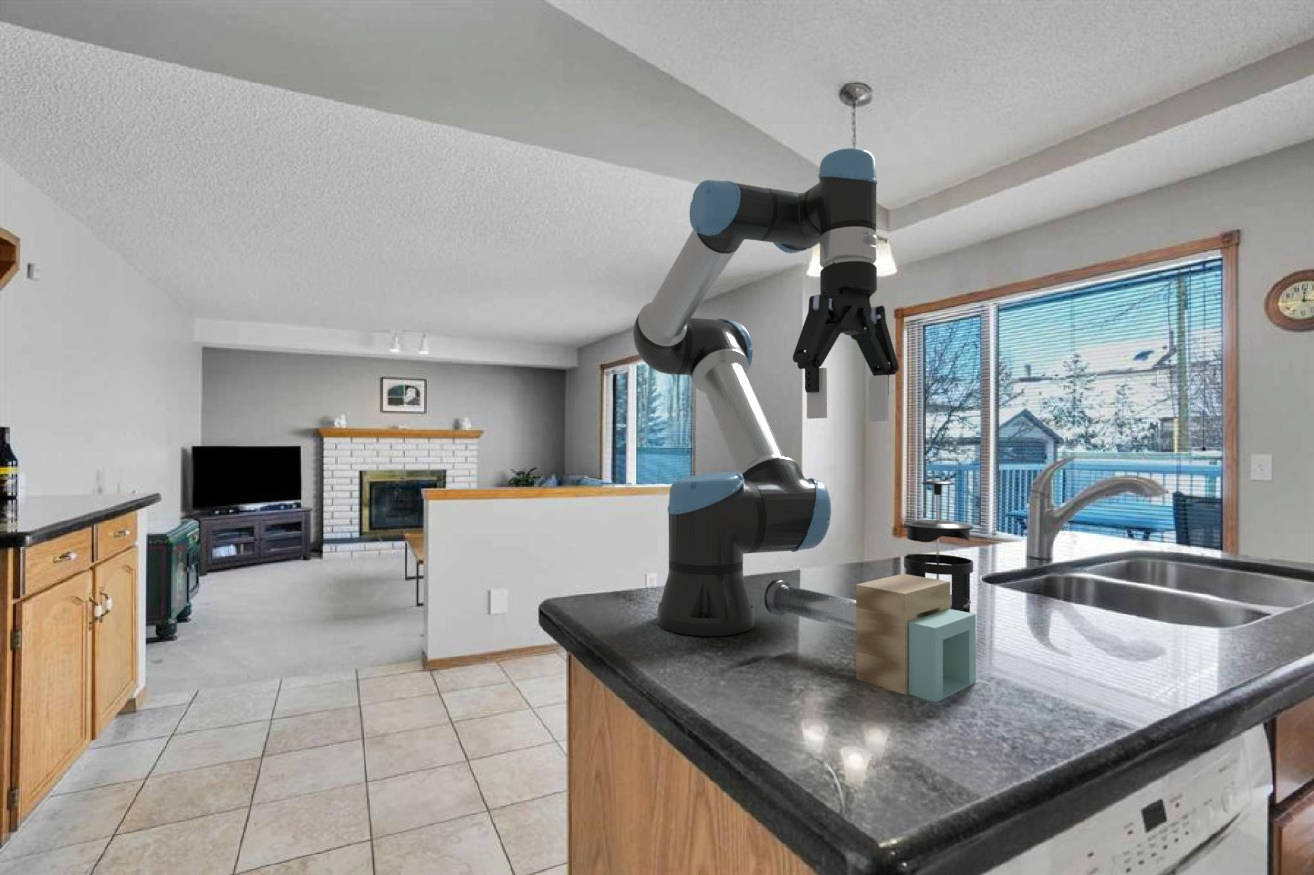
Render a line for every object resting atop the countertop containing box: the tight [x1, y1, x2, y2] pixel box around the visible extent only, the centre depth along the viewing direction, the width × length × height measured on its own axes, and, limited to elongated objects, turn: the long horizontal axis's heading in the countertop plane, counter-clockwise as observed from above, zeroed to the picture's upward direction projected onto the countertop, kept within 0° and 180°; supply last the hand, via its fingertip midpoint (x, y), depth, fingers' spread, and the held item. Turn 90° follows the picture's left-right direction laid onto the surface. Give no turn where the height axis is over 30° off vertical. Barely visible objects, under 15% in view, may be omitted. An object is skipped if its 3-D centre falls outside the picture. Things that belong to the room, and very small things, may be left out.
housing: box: [855, 573, 951, 696], centre depth 75 cm, size 6×10×12 cm, turn 130°
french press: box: [903, 480, 974, 613], centre depth 92 cm, size 12×9×23 cm
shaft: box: [763, 579, 926, 632], centre depth 82 cm, size 21×5×5 cm, turn 40°
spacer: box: [908, 609, 977, 703], centre depth 72 cm, size 3×9×9 cm, turn 130°
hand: (849, 419), depth 90 cm, fingers open, 13 cm apart
